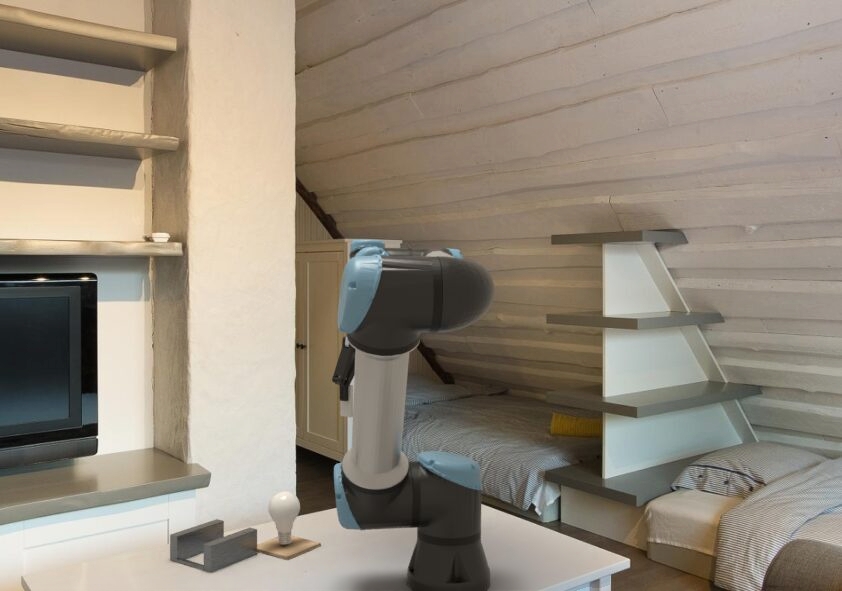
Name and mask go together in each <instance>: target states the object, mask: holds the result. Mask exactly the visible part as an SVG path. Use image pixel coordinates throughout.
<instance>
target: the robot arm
mask: <svg viewBox="0 0 842 591" xmlns="http://www.w3.org/2000/svg"><path fill="white" fill-rule="evenodd" d="M348 255H349V260H348V261H347V262H346V265H345V266H344V269H343V273H342V276H341V277H342V278H341V282H340V289H339V301H338V307H337V328H338V330H339V332H341V333H344V334H346V335H345V336H342V342H341V343H342V345H341V350H340V352H339V357H338V359H337V363H336V366H335V368H334V372H333V376H332V379H331V381H332V383H334V384H335V385H338V386H339V397H338V398H339V401H340V402H339V404H340V407H339V408H340V412H339V413H340V417H345V418H352V431H351V448H350V449H349V450H348V451H346V453H345V455H344V456H343V458H342V461H340V462H339V463H336V464H335V465H334V466H333V483H334V484H333V485H334V493H335V506H336V513H337V519H338V522H339V524H340V526H341V527H342V528H344V529H345V530H359V531H368V530H371V531H372V530H385V529H386V530H387V529H388V530H390V529H391V530H392V529H409V528H410V529H412V528H415V529H416V530H417V531H416V536H417V537H416V542H415V546H414V548H413V551H412V554H411V557H410V560H409V563H408V567H407V572H406V573H407V574H406V575H407V576H406V577H407V578H406V582H407V586H408V587H409V588H410V589H412V591H487V590H489V588H490V585H491V569H490V567H489V564H488V560H487V557H486V553H485V550H484V547H483V544H482V490H483V488H484V486H483V481H482V468H481V466H480V465H479V463H478V462H477V461H475V460H474V459H473V458H470V457H468V456H465V455H461V454H458V453H453V452H448V451H441V450H429V451H421V452H419V453H418V455H417V457H416V461H409V460H408V458H407V456H406V454H405V453H404V451H402V446H403V445H402V444H403V436H404V435H403V434H404V422H405V410H406V400H407V399H406V396H407V395H406V394H407V384H408V372H409V362H410V353H411V352H413V351H414V350H415V349H416V348H417V347H418V346H419V344H420V342H421V336H422V333H447V332H454V331H458V330H461V329H464V328H466V327H468V326H471V325H472V324H474V323H475V322H477V321H478V320H480V319H481V318H482V317H483V316H484V315H485V314H486V313H487V312H488V311H489V310H490V308H491V306H492V304H493V302H494V297H495V290H496V289H495V281H494V279H493V278H492V277H493V276H492V275H491V273H490V272H489V270H488V269H487V268H486V267H484V266H483V265H482V264H480V263H479V262H477V261H475V260H473V259H470V258H469V259H468V258H464V256H463V252H462V251H461V250H460V249H457V248H449V247H447V248H446V247H442V248H429V247H427V248H421V247H420V248H411V247H409V248H408V247H386V243H385V242H384V240H381V239H362V238H361V239H354V240H352V241H351V242H350V247H349V254H348ZM353 379H354V380H353ZM352 381H353V384H351V383H352Z"/></svg>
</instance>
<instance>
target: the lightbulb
mask: <svg viewBox="0 0 842 591" xmlns="http://www.w3.org/2000/svg"><path fill="white" fill-rule="evenodd" d="M267 508H268V509H267V510H268V513H269V516H270V518H271V519H272V521H273V522H274V524H275V527H276V530H277V534H278V536H277V537H278V543H279V544H281V545H283V546H286V545H288V544H290V543H291V536H292V529H293V526H294V522H295V521H296V519H297V517H298V516H299V514H300V510H301V504H300V500H299V498H298V497H297V496H296V494H295V493H293V492H291V491H288V490H282V491H279V492H277V493H275V494H274V495H273V496H272V497H271V498H270V500H269V502H268V506H267Z"/></svg>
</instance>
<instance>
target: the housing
mask: <svg viewBox="0 0 842 591" xmlns="http://www.w3.org/2000/svg"><path fill="white" fill-rule="evenodd" d="M224 522H225V521H224V520H222V519H218V518H216V519H214V520H213V519H212V520H210V521H208V522H205V523H204V522H203V523H202V524H201V523H200V524H198V525H195V526H192V527H190V528H187V529H184V530H180V531H177V532H174V533H170V535H169V560H170V561H171V562H175V563H178V564H182V565H185V566H188V567H192V568H194V569H198V570H201V571H205V572H208V573H214V572H216V571H218V570H221V569H223V568H225V567H228V566H229V567H230V566H231V565H233V564H236V563H238V562H241V561H244V560H247V559H248V558H251V557H253V556H256V555H257V554H258V552H257V544H258V528H254V527H248V528H244V529H243V530H239V531H237V532H234V533H231V534H228V535H225V532H224V531H225V530H224V529H225V523H224ZM201 554H203V564H201V563H199V562H194V561H192V560H188V559H189V558H192V557H195V556H197V555H201Z"/></svg>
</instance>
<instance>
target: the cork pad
mask: <svg viewBox="0 0 842 591" xmlns="http://www.w3.org/2000/svg"><path fill="white" fill-rule="evenodd" d="M321 546H322V542H320V541H316V540H311V539H307V538H303V537H299V536H294V535H291V543H290V544H288V545H286V546H283V545H281V544H279V543H278V536H276V537H273V538H270V539H268V540H265V541H263V542H260V543H257V553H261V554H264V555H268V556H272V557H276V558H278V559H279V558H280V559H283V560H286V561H288V560H291V559H293V558H296V557H298V556H300V555H304V554H305V553H307V552H310V551H311V550H314V549H317V548H319V547H321Z"/></svg>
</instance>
